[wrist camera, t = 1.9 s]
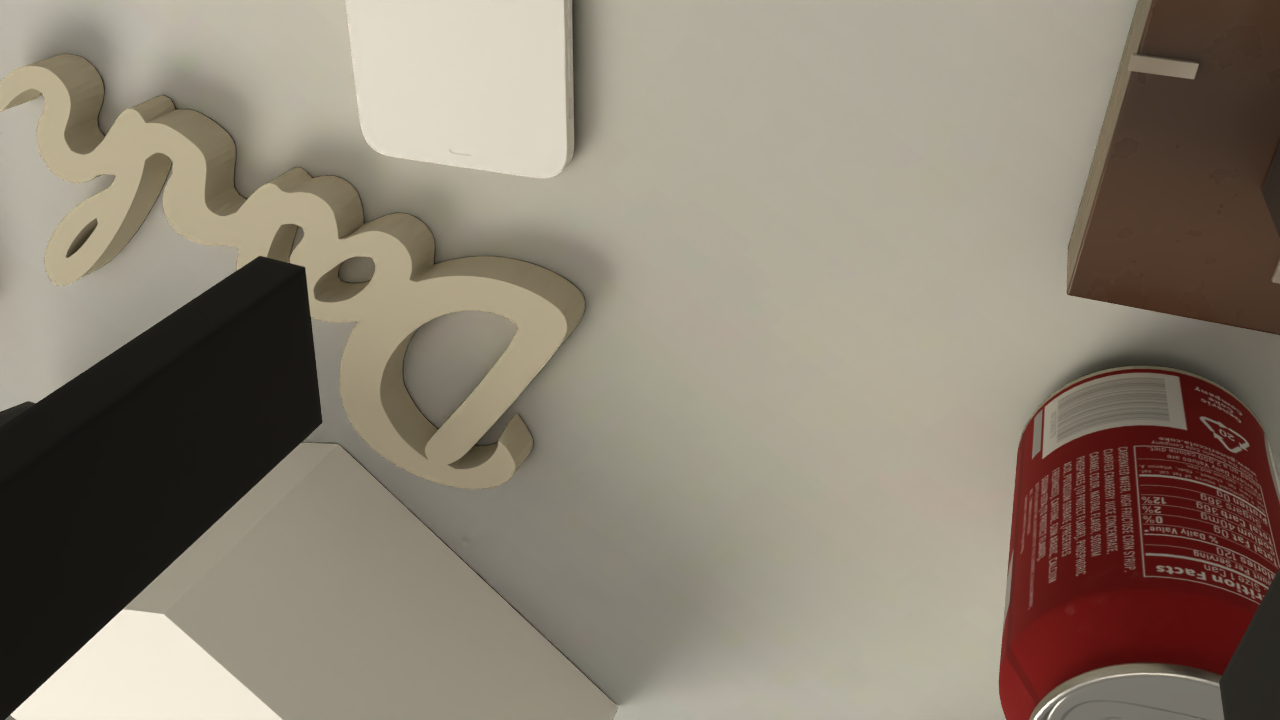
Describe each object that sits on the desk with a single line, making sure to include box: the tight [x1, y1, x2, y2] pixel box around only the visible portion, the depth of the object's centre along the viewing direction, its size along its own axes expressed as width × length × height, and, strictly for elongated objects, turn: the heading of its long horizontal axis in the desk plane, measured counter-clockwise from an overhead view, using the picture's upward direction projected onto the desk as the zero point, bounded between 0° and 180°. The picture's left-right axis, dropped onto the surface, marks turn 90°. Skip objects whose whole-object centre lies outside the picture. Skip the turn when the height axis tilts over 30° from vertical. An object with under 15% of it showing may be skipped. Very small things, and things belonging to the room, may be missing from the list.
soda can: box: [999, 366, 1280, 720], centre depth 27 cm, size 7×7×12 cm
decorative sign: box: [0, 54, 585, 489], centre depth 39 cm, size 23×2×10 cm
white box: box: [10, 443, 618, 720], centre depth 44 cm, size 14×29×10 cm, turn 74°
